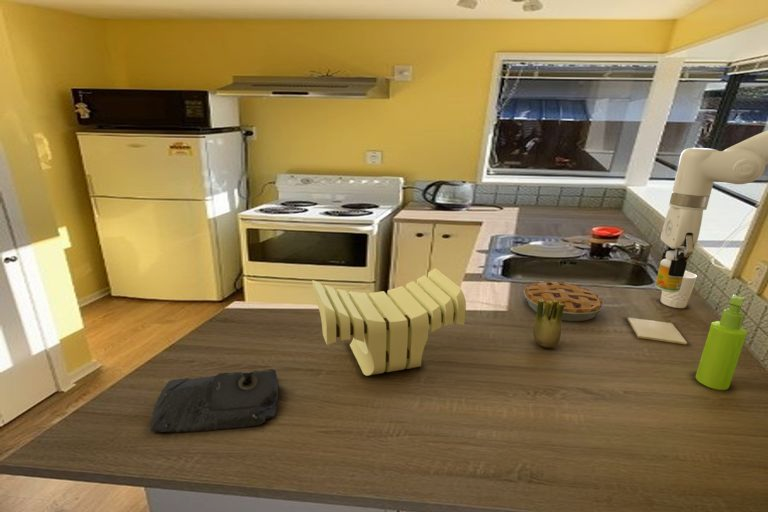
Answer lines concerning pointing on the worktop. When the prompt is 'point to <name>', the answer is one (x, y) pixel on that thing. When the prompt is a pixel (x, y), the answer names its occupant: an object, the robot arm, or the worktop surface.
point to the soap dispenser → (723, 347)
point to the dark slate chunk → (216, 402)
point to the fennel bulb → (548, 324)
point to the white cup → (680, 292)
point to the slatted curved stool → (390, 320)
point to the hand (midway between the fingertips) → (671, 271)
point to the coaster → (656, 330)
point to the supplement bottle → (667, 275)
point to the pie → (564, 299)
